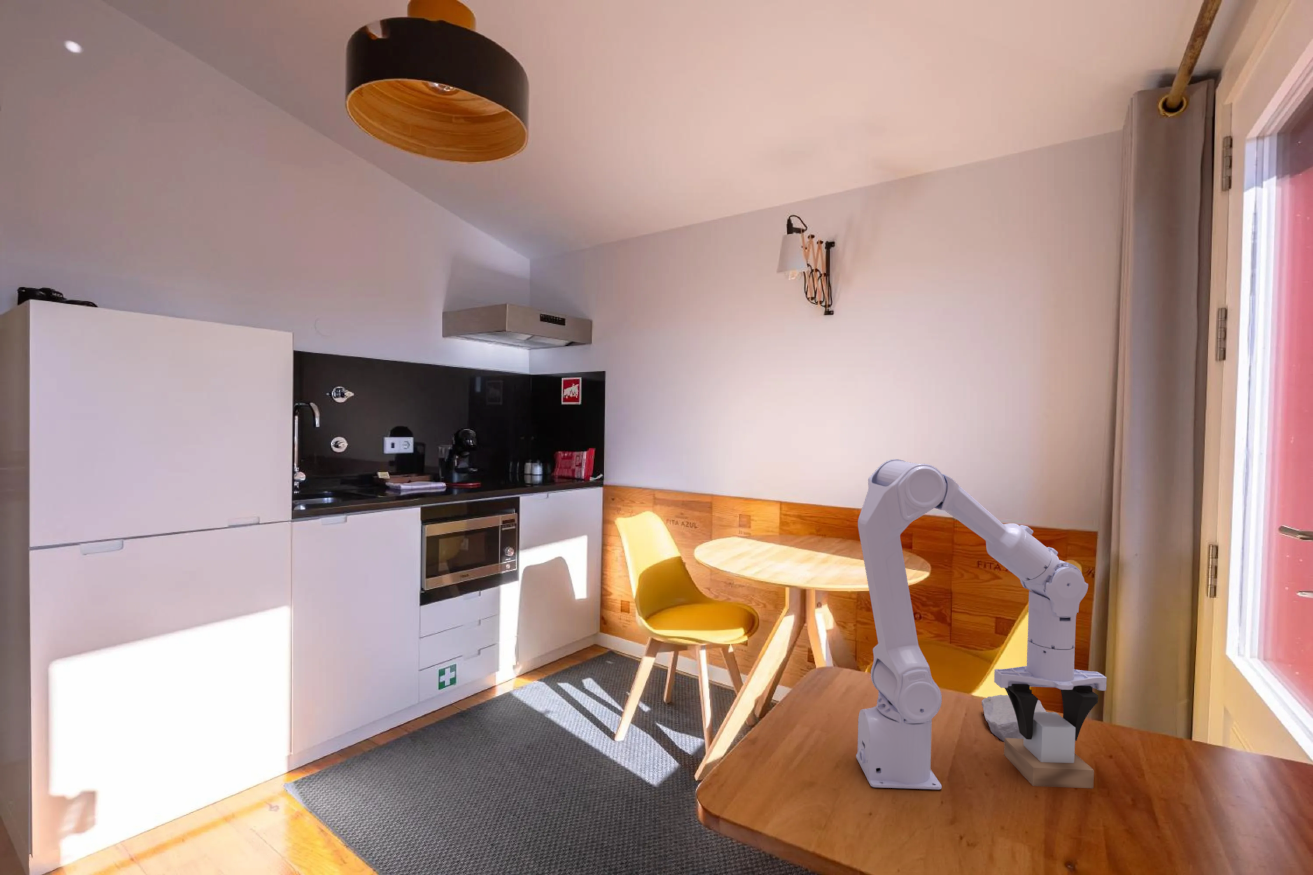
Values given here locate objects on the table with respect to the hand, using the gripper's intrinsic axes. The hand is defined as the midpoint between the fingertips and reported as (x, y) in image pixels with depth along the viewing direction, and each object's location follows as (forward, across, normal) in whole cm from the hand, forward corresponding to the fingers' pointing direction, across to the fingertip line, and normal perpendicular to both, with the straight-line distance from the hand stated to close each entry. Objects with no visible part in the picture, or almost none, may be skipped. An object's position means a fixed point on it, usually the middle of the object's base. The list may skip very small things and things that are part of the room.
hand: (1047, 736), depth 91 cm
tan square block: (+5, 0, 0) cm, 5 cm away
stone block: (+5, +2, +12) cm, 14 cm away
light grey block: (+2, 0, 0) cm, 2 cm away
